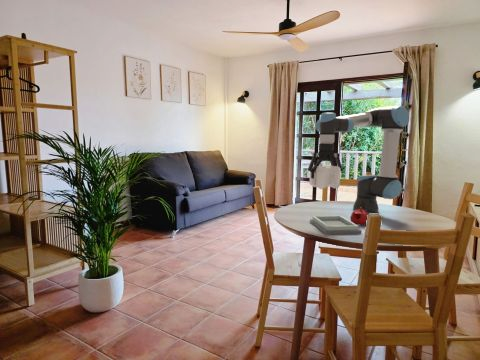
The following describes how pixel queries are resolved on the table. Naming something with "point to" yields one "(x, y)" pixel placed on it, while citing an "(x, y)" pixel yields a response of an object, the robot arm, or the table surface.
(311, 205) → the table surface
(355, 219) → the red tomato
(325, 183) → the cable organizer
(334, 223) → the grey green tray
